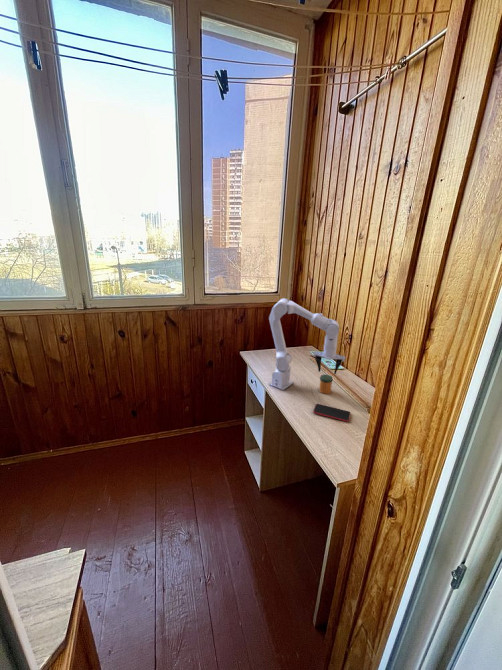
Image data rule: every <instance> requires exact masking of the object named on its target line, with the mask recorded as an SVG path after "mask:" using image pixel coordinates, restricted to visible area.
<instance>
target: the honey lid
mask: <svg viewBox="0 0 502 670" xmlns="http://www.w3.org/2000/svg"><path fill="white" fill-rule="evenodd" d="M320 380H321V381H322V382H325V383H330V382H332V383H333V380H334V378H333V376H331V375H329V374H321V375H320V377H319V381H320Z"/></svg>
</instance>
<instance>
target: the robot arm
mask: <svg viewBox="0 0 502 670" xmlns="http://www.w3.org/2000/svg"><path fill="white" fill-rule="evenodd" d="M286 314H287V315H291V314H296V315H298V316H300V317H303V318H305V319H307V320H309V321H310V324H311V325H313V326H315V327H316V328H318V329H320V330H322V331H324V332H325V336H324V344H323V351H322V352H321V351H314V352H313V355H312V357H313V358H315V363H316V365H317V369H318V370H317V371H318V372H321V368H322V359H326V360H333V361H335V367H334V372H333V375H336V374H337V371H338V369H339V368H340V366H341V365H342V362H344V363H345V360H346V356H345V355H341V354H337V347H338V338H339V332H340V324H339V322H338V321H337V320H336V319H332V318H328V317H326V316H324V314H323V313H321V312H320V313H319V312H317V313H313V312H311V311H309V310H308V309H306V308H304V307H303V306H302V305H299V304H297V303H296V302H294V301H293V300H289V298H285V297H282V298H280V299H278V301H277V302H276V303H275V304H274V305H273V307H271V311H270V313H269V316H268V320H269V326H270V330H271V334H272V338H273V342H274V347H275V351H276V354H275V355H276V356H275V360H276V363H275V370H274V372H273V373H272V375H271V377H272V378H271V383H270V386H273V387H275V388H277V389H279V390H282V391H284V390H286V388H288V387H290V386H291V385H293V381H291V369H292V368H291V365H290V364H291V362H292V360H293V358H292V356H291V354H290V352H289V350H288V349H287V345H286V341H285V336H284V332H283V327H282V323H281V319H282V317H283V316H284V315H286Z"/></svg>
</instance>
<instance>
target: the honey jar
mask: <svg viewBox="0 0 502 670" xmlns="http://www.w3.org/2000/svg"><path fill="white" fill-rule="evenodd" d="M332 386H333V381H332V382H330V383H325V382H322V381H321V380H320V379H319V387H318V388H319V389H318V391H319V392H320V393H321V394H325V395H328V394H331V392H332Z"/></svg>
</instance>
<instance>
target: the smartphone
mask: <svg viewBox="0 0 502 670" xmlns="http://www.w3.org/2000/svg"><path fill="white" fill-rule="evenodd" d="M312 411H313V414H314V415H315V414H316V415H319V416H324V417H327V418H330V419H334V420H340V421H342V422H347V423H348V422H349V421H350V418H351V411H349V410H345V409H341V408H337V407H334V406H329V405H325V404H321V403H316V404H315V406H314V408H313V410H312Z"/></svg>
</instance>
